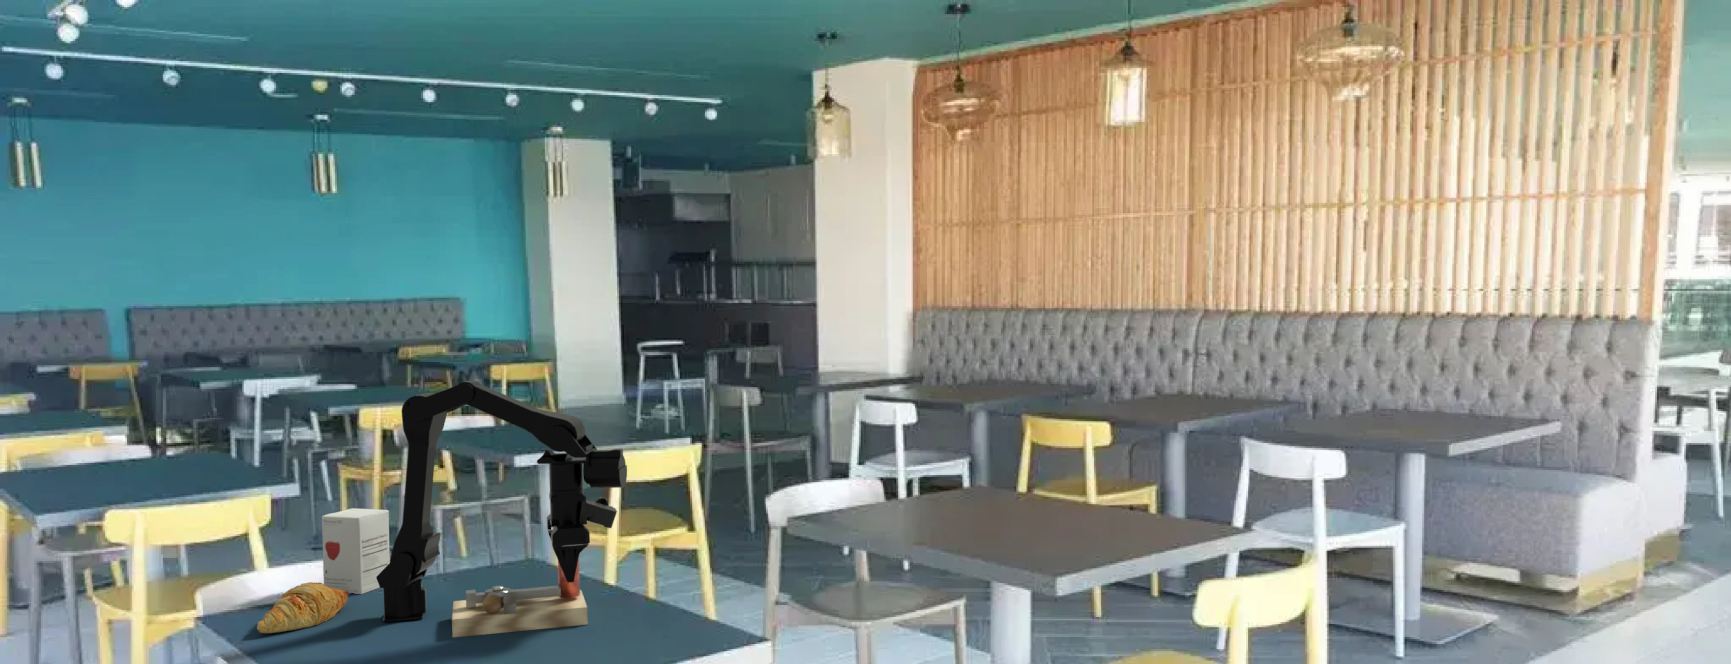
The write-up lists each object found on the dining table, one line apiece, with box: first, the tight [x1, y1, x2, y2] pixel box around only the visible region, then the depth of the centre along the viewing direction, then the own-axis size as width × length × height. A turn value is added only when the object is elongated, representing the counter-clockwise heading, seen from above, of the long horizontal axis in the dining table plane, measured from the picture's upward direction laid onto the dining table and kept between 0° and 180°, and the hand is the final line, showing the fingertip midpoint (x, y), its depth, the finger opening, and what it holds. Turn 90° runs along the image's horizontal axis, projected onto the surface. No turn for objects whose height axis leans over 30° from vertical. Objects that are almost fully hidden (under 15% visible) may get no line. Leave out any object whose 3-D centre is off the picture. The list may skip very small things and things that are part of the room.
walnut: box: [483, 594, 502, 614], centre depth 207 cm, size 3×3×3 cm
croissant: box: [256, 581, 350, 634], centre depth 216 cm, size 21×10×8 cm, turn 165°
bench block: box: [451, 589, 589, 638], centre depth 213 cm, size 22×13×6 cm, turn 108°
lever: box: [465, 557, 581, 608], centre depth 214 cm, size 19×4×7 cm, turn 108°
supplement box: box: [321, 507, 391, 595], centre depth 240 cm, size 9×9×15 cm
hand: (568, 576), depth 216 cm, fingers open, 9 cm apart
